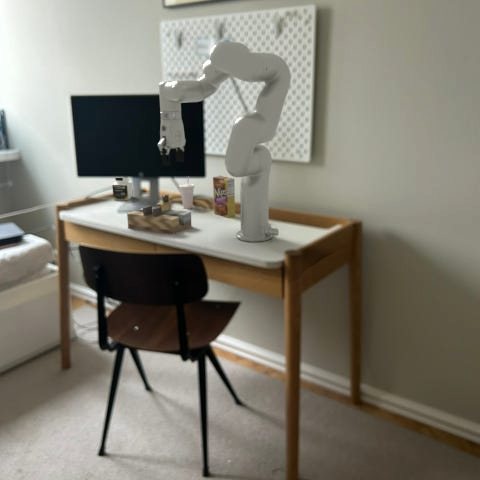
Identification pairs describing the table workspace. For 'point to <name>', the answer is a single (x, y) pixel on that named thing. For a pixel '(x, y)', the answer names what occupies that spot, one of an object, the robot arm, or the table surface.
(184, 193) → the smoothie
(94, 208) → the table surface
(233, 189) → the candy box
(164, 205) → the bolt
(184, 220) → the lock frame
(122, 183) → the medicine bottle
